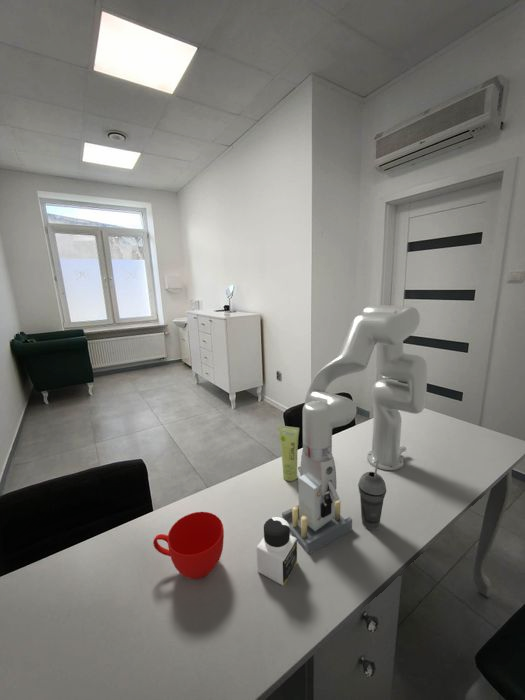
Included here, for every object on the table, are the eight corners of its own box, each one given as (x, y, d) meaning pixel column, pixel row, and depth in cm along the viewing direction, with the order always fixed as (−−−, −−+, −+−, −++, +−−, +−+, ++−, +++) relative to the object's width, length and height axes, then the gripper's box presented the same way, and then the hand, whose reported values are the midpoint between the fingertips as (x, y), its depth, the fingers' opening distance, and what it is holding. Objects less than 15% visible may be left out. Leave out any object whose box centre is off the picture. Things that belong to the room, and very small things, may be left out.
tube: (284, 483, 102) (283, 431, 98) (279, 474, 107) (278, 424, 103) (299, 480, 104) (299, 428, 100) (294, 471, 109) (293, 421, 104)
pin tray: (323, 502, 93) (323, 483, 91) (351, 529, 82) (352, 508, 81) (282, 522, 85) (281, 502, 84) (308, 554, 75) (308, 531, 74)
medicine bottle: (283, 587, 67) (282, 542, 65) (257, 572, 71) (255, 528, 68) (297, 562, 73) (297, 520, 71) (272, 549, 77) (271, 509, 74)
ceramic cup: (166, 544, 80) (162, 511, 77) (229, 544, 79) (227, 511, 77) (146, 593, 67) (140, 555, 65) (221, 593, 66) (218, 555, 64)
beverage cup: (364, 509, 89) (367, 449, 85) (388, 523, 84) (392, 458, 80) (351, 523, 84) (354, 459, 80) (377, 538, 79) (380, 471, 75)
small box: (318, 504, 88) (318, 465, 86) (335, 517, 83) (336, 476, 81) (298, 518, 84) (297, 477, 81) (315, 532, 79) (315, 489, 76)
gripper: (352, 459, 73) (350, 521, 77) (308, 431, 88) (308, 484, 92) (328, 469, 70) (327, 534, 74) (286, 438, 85) (288, 493, 88)
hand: (316, 506), depth 83 cm, fingers closed on small box, 6 cm apart
